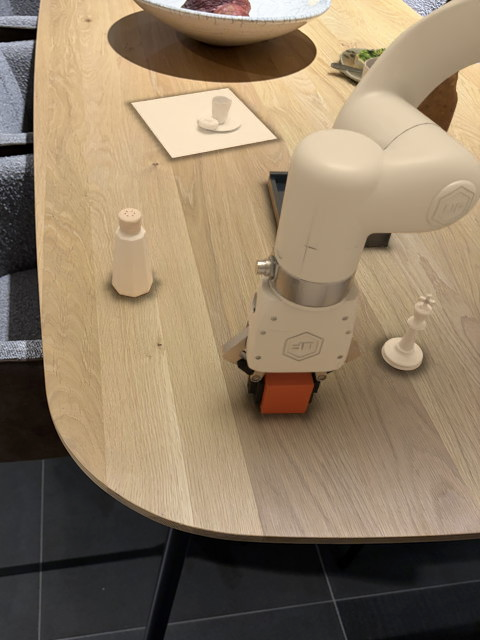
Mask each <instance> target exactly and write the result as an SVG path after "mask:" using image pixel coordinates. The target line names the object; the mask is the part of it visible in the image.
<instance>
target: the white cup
mask: <svg viewBox="0 0 480 640" xmlns="http://www.w3.org/2000/svg"><path fill="white" fill-rule="evenodd" d="M377 59H378V58H371V59H368V60H366V61H365V63H364V68H363V73H362V78H363V77H364V76H365V74H366V73H367V72H368V70H369V69H370V68H371V67H372V65H373V64H374V63H375V61H376V60H377ZM362 78H361V79H362Z"/></svg>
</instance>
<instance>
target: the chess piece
mask: <svg viewBox="0 0 480 640" xmlns="http://www.w3.org/2000/svg"><path fill="white" fill-rule="evenodd" d="M432 296H433V294H432V293H429V292H428V293H427V295H426V296H423V295H420V296H419V298H418V302H416V303H415V304H414V306H413V315H411V316H409V317H408V319H406V323H407V326H408V329H407V331H406V332H405V334H404V335H403V337H399V336H398V337H391V338H389V339H388V340H386V341H385V343H384V344H383V346H382V347H381V356H382V358H383V360H384V361H385V362H386V363H387V364H388V365H389V366H391V367H392V368H395V369H397V370H400V371H414V370H416V369H417V368H419V367H420V366H421V364H422V362H423V359H424V353H423V350H422V348H421V347H420V346H419V345H418V344H417V343H416V339H417V336H418V333H419V331H422V330H425V329H426V328H427V327H426V326H427V322H426V319H427V318H428V317H429V316H431V314H432V313H433V307H432V306H435V304H436V300H435V299H432Z"/></svg>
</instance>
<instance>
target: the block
mask: <svg viewBox="0 0 480 640" xmlns="http://www.w3.org/2000/svg"><path fill="white" fill-rule="evenodd" d="M459 72H460V71H458V72H456V73H455V74H453V75H452V76H450V77H448V78H447V79H446V80H444V81H443V82H442V83H441V84H440V85H438V86H437V87H436V88H435V89H434V90H433V91H432V92H431V93H430V94H429V95H428V96H427V97H426V98H425V99H424V100H423V102H422V103H421V104H420V105H419V106H418V107H417V110H419V111H420V112H421V113H423V114H424V115H425V116H427V117H428V118H429V119H430V120H432V121H433V122H434V123H436V124H437V125H438V126H440V127H441V128H442V129H443V130H444V131H445V132H447V133H448V132H449V128H450V126H451V123H452V120H453V118H454V114H455V112H456V109H457V105H458V102H459V101H458V100H459V96H458V91H457V84H458V80H459Z"/></svg>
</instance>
